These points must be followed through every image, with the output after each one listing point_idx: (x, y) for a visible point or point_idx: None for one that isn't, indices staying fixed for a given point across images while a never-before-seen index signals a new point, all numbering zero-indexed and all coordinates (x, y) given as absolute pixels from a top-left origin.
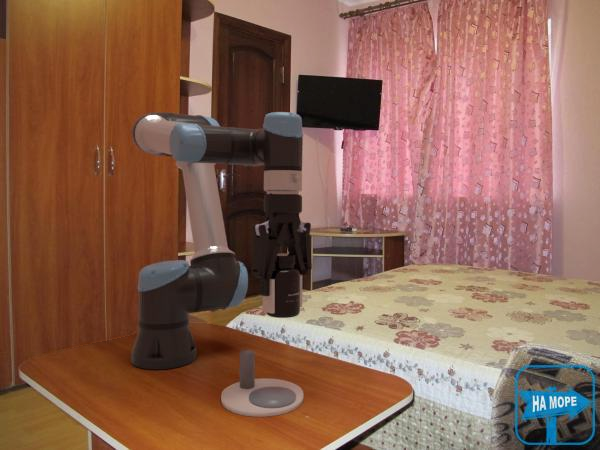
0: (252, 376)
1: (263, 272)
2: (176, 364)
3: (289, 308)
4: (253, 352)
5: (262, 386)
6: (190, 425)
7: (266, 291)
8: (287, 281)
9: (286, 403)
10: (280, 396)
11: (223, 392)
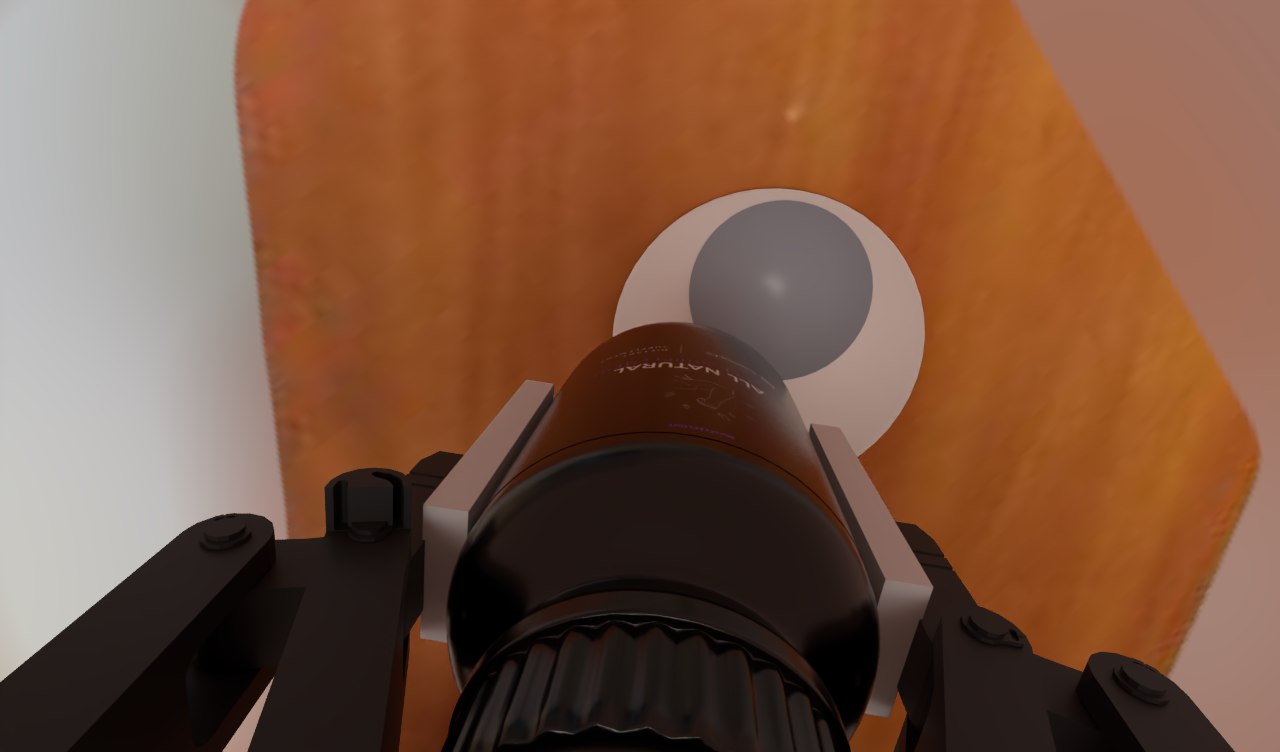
0: None
1: (1130, 696)
2: None
3: (744, 351)
4: None
5: None
6: (1068, 392)
7: (925, 547)
8: (790, 457)
9: (809, 204)
10: (768, 264)
11: None
